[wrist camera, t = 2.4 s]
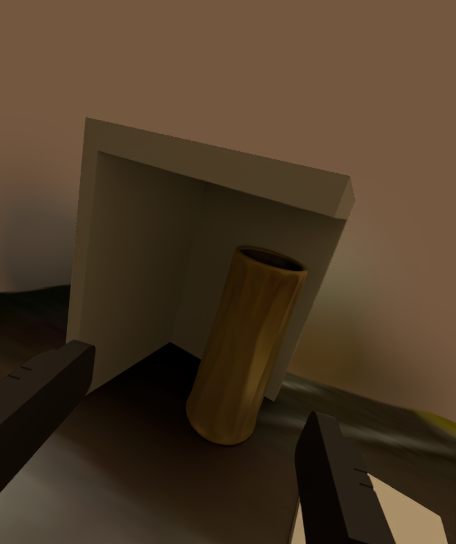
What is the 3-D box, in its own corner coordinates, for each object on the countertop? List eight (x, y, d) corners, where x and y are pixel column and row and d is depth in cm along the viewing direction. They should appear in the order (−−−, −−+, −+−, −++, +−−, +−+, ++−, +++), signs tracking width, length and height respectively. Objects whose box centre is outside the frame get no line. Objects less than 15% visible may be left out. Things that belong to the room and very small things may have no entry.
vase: (217, 377, 27) (258, 242, 22) (267, 418, 24) (327, 270, 19) (170, 407, 22) (211, 243, 18) (225, 464, 19) (292, 280, 14)
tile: (281, 576, 14) (285, 568, 14) (309, 447, 22) (313, 440, 22) (490, 750, 11) (501, 742, 10) (434, 524, 19) (440, 516, 18)
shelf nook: (61, 395, 20) (85, 117, 14) (167, 333, 32) (205, 162, 26) (216, 523, 15) (349, 176, 9) (276, 395, 27) (355, 200, 21)
